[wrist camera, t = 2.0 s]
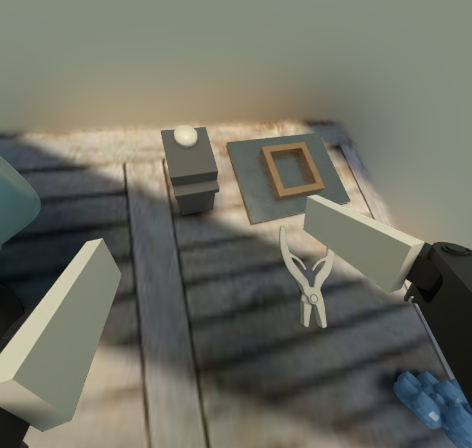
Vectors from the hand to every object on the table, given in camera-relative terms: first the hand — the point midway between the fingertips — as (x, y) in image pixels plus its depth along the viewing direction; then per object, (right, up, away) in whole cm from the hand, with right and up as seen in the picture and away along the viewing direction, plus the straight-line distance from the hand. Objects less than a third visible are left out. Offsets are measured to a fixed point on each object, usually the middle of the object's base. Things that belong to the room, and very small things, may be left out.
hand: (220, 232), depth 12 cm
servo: (-6, +5, +18) cm, 20 cm away
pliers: (+13, -8, +18) cm, 23 cm away
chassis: (+11, +10, +23) cm, 27 cm away
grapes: (+25, -23, +15) cm, 38 cm away
